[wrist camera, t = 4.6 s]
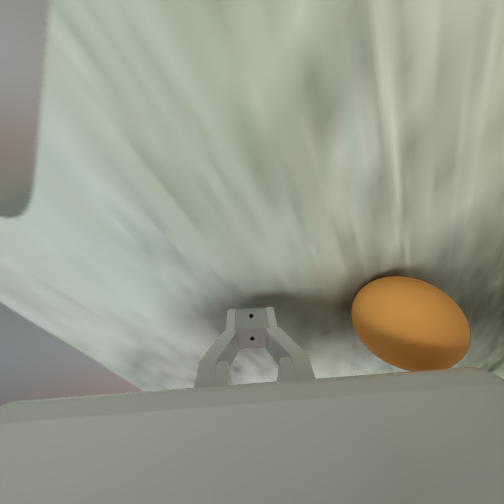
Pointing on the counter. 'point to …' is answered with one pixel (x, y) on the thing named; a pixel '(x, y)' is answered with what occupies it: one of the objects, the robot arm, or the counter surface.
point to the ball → (410, 324)
